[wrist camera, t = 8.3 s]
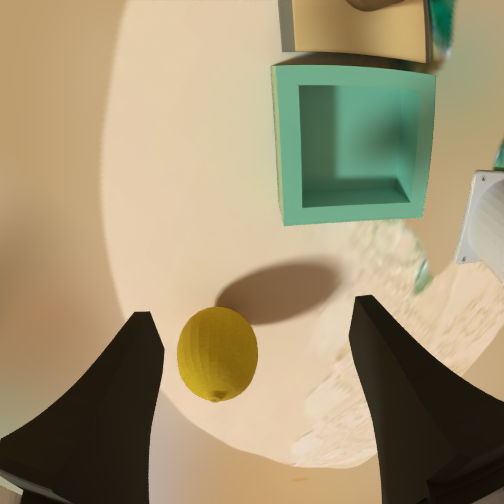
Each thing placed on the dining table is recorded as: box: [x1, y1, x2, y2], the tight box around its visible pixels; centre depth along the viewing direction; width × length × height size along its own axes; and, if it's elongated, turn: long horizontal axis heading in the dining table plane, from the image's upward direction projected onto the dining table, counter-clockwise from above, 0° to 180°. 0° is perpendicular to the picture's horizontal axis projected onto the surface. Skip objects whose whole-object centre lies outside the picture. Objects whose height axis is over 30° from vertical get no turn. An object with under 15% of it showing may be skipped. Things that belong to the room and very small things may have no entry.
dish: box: [270, 65, 436, 226], centre depth 16 cm, size 8×8×3 cm
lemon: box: [177, 307, 258, 402], centre depth 21 cm, size 6×6×8 cm
